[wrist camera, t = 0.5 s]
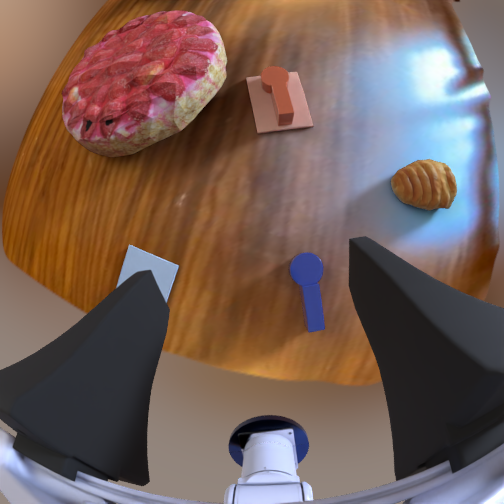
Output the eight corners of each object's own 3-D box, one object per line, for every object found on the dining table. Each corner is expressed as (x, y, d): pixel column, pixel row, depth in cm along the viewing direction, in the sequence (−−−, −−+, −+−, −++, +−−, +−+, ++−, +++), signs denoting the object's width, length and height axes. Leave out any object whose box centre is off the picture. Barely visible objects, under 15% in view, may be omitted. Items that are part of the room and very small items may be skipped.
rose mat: (313, 127, 31) (313, 125, 31) (257, 134, 31) (257, 132, 31) (296, 73, 31) (296, 71, 31) (246, 79, 32) (245, 77, 31)
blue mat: (179, 265, 32) (178, 265, 31) (161, 319, 32) (160, 319, 31) (130, 245, 32) (129, 244, 32) (115, 296, 32) (113, 296, 32)
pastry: (394, 216, 30) (409, 211, 27) (383, 164, 31) (395, 154, 27) (448, 209, 30) (464, 204, 26) (436, 162, 30) (451, 153, 26)
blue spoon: (327, 321, 31) (333, 327, 28) (297, 327, 31) (300, 334, 28) (317, 250, 31) (322, 249, 28) (286, 255, 31) (288, 255, 28)
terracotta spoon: (299, 123, 31) (302, 112, 28) (270, 127, 31) (271, 115, 28) (285, 73, 31) (286, 60, 28) (258, 76, 31) (258, 63, 28)
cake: (207, 164, 30) (187, 131, 22) (58, 162, 33) (25, 144, 25) (243, 31, 32) (237, -6, 24) (112, 46, 35) (94, 21, 27)
